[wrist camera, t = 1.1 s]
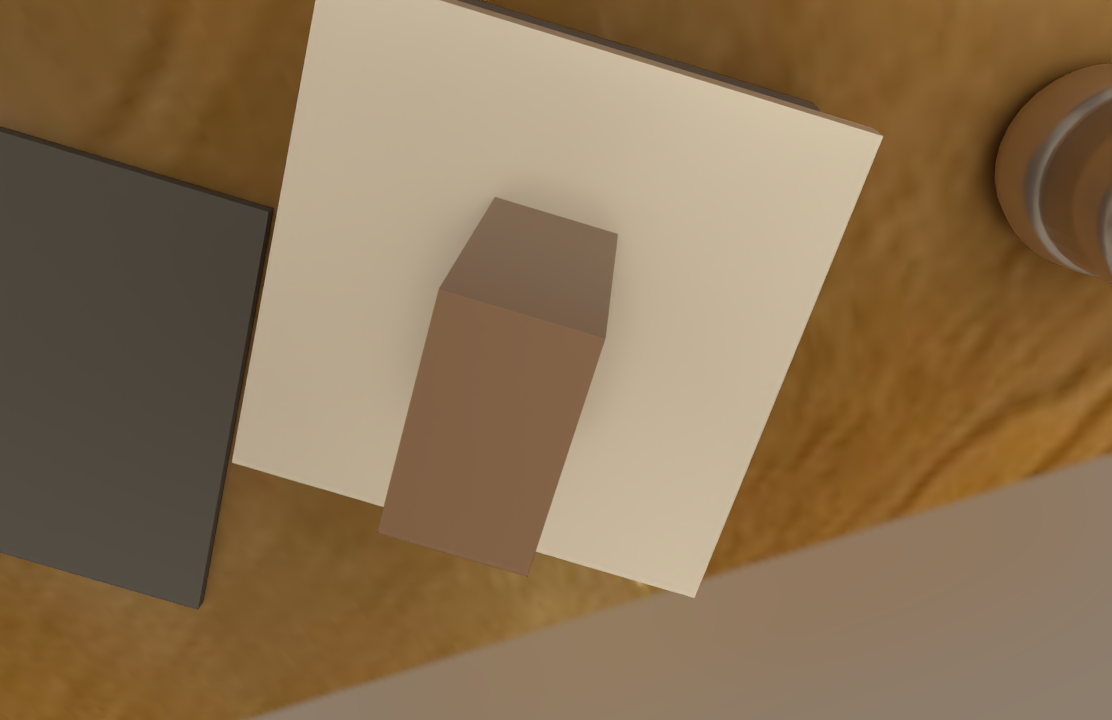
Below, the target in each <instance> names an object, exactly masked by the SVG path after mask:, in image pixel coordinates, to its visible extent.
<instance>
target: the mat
mask: <svg viewBox="0 0 1112 720" xmlns="http://www.w3.org/2000/svg"><path fill="white" fill-rule="evenodd" d="M272 214H273V208H270V207H266V206H263V205H260V204H256V203H253V202H250V201H246V200H243V199H240V198H236V197H233V196H230V195H226V194H223V193H220V192H216V191H213V190H210V189H206V188H203V187H199V186H196V185H193V184H189V183H186V182H183V181H179V180H176V179H173V178H169V177H166V176H163V175H159V174H156V173H153V172H149V171H146V170H143V169H139V168H136V167H133V166H129V165H126V164H123V163H119V162H116V161H113V160H109V159H106V158H103V157H99V156H96V155H93V154H89V153H86V152H83V151H79V150H76V149H73V148H69V147H66V146H63V145H59V144H56V143H53V142H49V141H46V140H43V139H39V138H36V137H33V136H29V135H26V134H23V133H19V132H16V131H13V130H9V129H6V128H3V127H0V553H4V554H7V555H11V556H14V557H17V558H21V559H24V560H28V561H31V562H35V563H38V564H42V565H45V566H49V567H52V568H56V569H59V570H62V571H66V572H69V573H73V574H76V575H80V576H83V577H87V578H90V579H94V580H97V581H101V582H104V583H107V584H111V585H114V586H118V587H121V588H125V589H128V590H132V591H135V592H139V593H142V594H146V595H149V596H152V597H156V598H159V599H163V600H166V601H170V602H173V603H177V604H180V605H184V606H187V607H191V608H194V609H199V607H200V606H201V605H202V603H203V599H204V593H205V587H206V582H207V576H208V571H209V565H210V560H211V554H212V548H213V543H214V537H215V532H216V526H217V520H218V515H219V509H220V504H221V498H222V493H223V487H224V481H225V476H226V470H227V465H228V459H229V454H230V448H231V442H232V437H233V431H234V426H235V420H236V415H237V409H238V403H239V398H240V392H241V387H242V381H243V376H244V370H245V364H246V359H247V353H248V348H249V342H250V337H251V331H252V325H253V320H254V314H255V309H256V303H257V297H258V292H259V286H260V281H261V275H262V270H263V264H264V258H265V253H266V247H267V242H268V236H269V231H270V225H271V219H272Z"/></svg>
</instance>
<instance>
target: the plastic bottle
mask: <svg viewBox="0 0 1112 720" xmlns="http://www.w3.org/2000/svg"><path fill="white" fill-rule="evenodd" d="M995 186H996V192H997V197H998V200H999V202H1000V205H1001V207H1002V209H1003V212H1004V214H1005V216H1006V218H1007V220H1008V222H1009V224H1010V226H1011V228H1012V229H1013V231H1014V232H1015V233H1016V235H1017V236H1018V237H1019V238H1020V240H1021V241H1022V242H1023V243H1024V244H1025V245H1026V246H1027V247H1029V248H1030V249H1031V250H1032V251H1033V252H1035V253H1036V254H1037V255H1039V256H1041V257H1043V258H1045V259H1047V260H1049V261H1051V262H1053V263H1055V264H1057V265H1060V266H1062V267H1065V268H1067V269H1070V270H1072V271H1075V272H1079V273H1083V274H1086V275H1090V276H1094V277H1099V278H1101V279H1103V280H1105V281H1106V282H1108V283H1110V284H1112V63H1106V64H1098V65H1093V66H1089V67H1086V68H1083V69H1079V70H1076V71H1073V72H1071V73H1069V74H1067V75H1065V76H1063V77H1061V78H1059V79H1057V80H1055V81H1053V82H1052V83H1050V84H1049V85H1048V86H1046V87H1045V88H1043V89H1042V90H1041V91H1039V92H1038V93H1037V94H1035V95H1034V96H1033V97H1032V98H1031V99H1030V100H1029V101H1028V102H1027V103H1026V104H1025V105H1024V106H1023V107H1022V108H1021V109H1020V111H1019V112H1018V114H1017V115H1016V117H1015V118H1014V119H1013V121H1012V122H1011V124H1010V125H1009V126H1008V129H1007V131H1006V133H1005V135H1004V137H1003V139H1002V141H1001V144H1000V147H999V151H998V155H997V159H996V163H995Z"/></svg>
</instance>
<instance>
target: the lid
mask: <svg viewBox="0 0 1112 720" xmlns="http://www.w3.org/2000/svg"><path fill="white" fill-rule="evenodd" d="M882 138H883V136H882V135H881V134H880V133H879V132H878V131H877V130H876V129H874V128H871V127H868V126H865V125H862V124H858V123H855V122H852V121H849V120H845V119H842V118H839V117H836V116H832V115H829V114H826V113H823V112H819V111H816V110H813V109H810V108H806V107H803V106H800V105H796V104H793V103H790V102H787V101H783V100H780V99H777V98H774V97H770V96H767V95H764V94H761V93H757V92H754V91H751V90H748V89H744V88H741V87H738V86H735V85H731V84H728V83H725V82H721V81H718V80H715V79H712V78H708V77H705V76H702V75H699V74H695V73H692V72H689V71H686V70H682V69H679V68H676V67H673V66H669V65H666V64H663V63H660V62H656V61H653V60H650V59H647V58H643V57H640V56H637V55H633V54H630V53H627V52H624V51H620V50H617V49H614V48H611V47H607V46H604V45H601V44H598V43H594V42H591V41H588V40H585V39H581V38H578V37H575V36H572V35H568V34H565V33H562V32H558V31H555V30H552V29H549V28H545V27H542V26H539V25H536V24H532V23H529V22H526V21H523V20H519V19H516V18H513V17H510V16H506V15H503V14H500V13H497V12H493V11H490V10H487V9H483V8H480V7H477V6H474V5H470V4H467V3H464V2H461V1H457V0H316V1H315V6H314V12H313V17H312V23H311V28H310V34H309V39H308V45H307V50H306V56H305V61H304V67H303V72H302V78H301V83H300V89H299V94H298V100H297V105H296V111H295V117H294V122H293V128H292V133H291V139H290V144H289V150H288V155H287V161H286V166H285V172H284V177H283V183H282V188H281V194H280V199H279V205H278V210H277V216H276V221H275V227H274V232H273V238H272V244H271V249H270V255H269V260H268V266H267V271H266V277H265V282H264V288H263V293H262V299H261V304H260V310H259V315H258V321H257V326H256V332H255V337H254V343H253V348H252V354H251V359H250V365H249V371H248V376H247V382H246V387H245V393H244V398H243V404H242V409H241V415H240V420H239V426H238V431H237V437H236V442H235V448H234V453H233V459H232V463H235V464H238V465H242V466H245V467H249V468H252V469H256V470H259V471H262V472H266V473H269V474H273V475H276V476H279V477H283V478H286V479H290V480H293V481H297V482H300V483H303V484H307V485H310V486H314V487H317V488H320V489H324V490H327V491H331V492H334V493H338V494H341V495H344V496H348V497H351V498H355V499H358V500H361V501H365V502H368V503H372V504H375V505H378V506H382V507H383V511H382V515H381V519H380V523H379V527H378V531H377V533H379V534H382V535H386V536H389V537H393V538H396V539H399V540H403V541H406V542H410V543H413V544H417V545H420V546H423V547H427V548H430V549H434V550H437V551H441V552H444V553H447V554H451V555H454V556H458V557H461V558H464V559H468V560H471V561H475V562H478V563H482V564H485V565H488V566H492V567H495V568H499V569H502V570H506V571H509V572H512V573H516V574H519V575H523V576H526V577H528V574H529V570H530V567H531V564H532V561H533V558H534V555H535V552H539V553H542V554H546V555H549V556H553V557H556V558H559V559H563V560H566V561H570V562H573V563H577V564H580V565H583V566H587V567H590V568H594V569H597V570H600V571H604V572H607V573H611V574H614V575H618V576H621V577H624V578H628V579H631V580H635V581H638V582H641V583H645V584H648V585H652V586H655V587H658V588H662V589H665V590H669V591H672V592H676V593H679V594H683V595H686V596H689V597H693V598H694V597H695V595H696V593H697V590H698V588H699V585H700V583H701V580H702V578H703V576H704V573H705V571H706V568H707V566H708V563H709V561H710V558H711V556H712V554H713V551H714V549H715V546H716V544H717V541H718V539H719V536H720V534H721V532H722V529H723V527H724V524H725V522H726V519H727V517H728V514H729V512H730V510H731V507H732V505H733V502H734V500H735V497H736V495H737V492H738V490H739V488H740V485H741V483H742V480H743V478H744V475H745V473H746V470H747V468H748V466H749V463H750V461H751V458H752V456H753V453H754V451H755V448H756V446H757V444H758V441H759V439H760V436H761V434H762V431H763V429H764V427H765V424H766V422H767V419H768V417H769V414H770V412H771V409H772V407H773V405H774V402H775V400H776V397H777V395H778V392H779V390H780V387H781V385H782V383H783V380H784V378H785V375H786V373H787V370H788V368H789V365H790V363H791V361H792V358H793V356H794V353H795V351H796V348H797V346H798V343H799V341H800V339H801V336H802V334H803V331H804V329H805V326H806V324H807V321H808V319H809V317H810V314H811V312H812V309H813V307H814V304H815V302H816V299H817V297H818V295H819V292H820V290H821V287H822V285H823V282H824V280H825V277H826V275H827V273H828V270H829V268H830V265H831V263H832V260H833V258H834V255H835V253H836V251H837V248H838V246H839V243H840V241H841V238H842V236H843V234H844V231H845V229H846V226H847V224H848V221H849V219H850V216H851V214H852V212H853V209H854V207H855V204H856V202H857V199H858V197H859V194H860V192H861V190H862V187H863V185H864V182H865V180H866V177H867V175H868V172H869V170H870V168H871V165H872V163H873V160H874V158H875V155H876V153H877V150H878V148H879V146H880V143H881V141H882Z"/></svg>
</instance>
